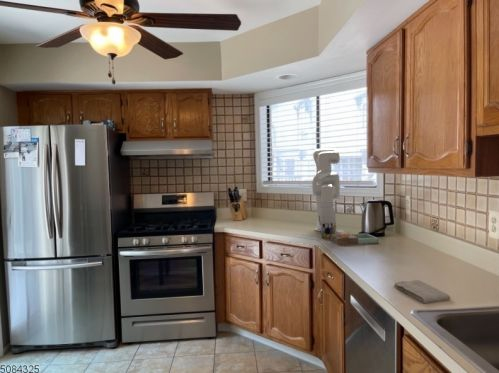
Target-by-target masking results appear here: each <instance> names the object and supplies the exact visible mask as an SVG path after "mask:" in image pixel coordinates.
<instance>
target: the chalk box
mask: <svg viewBox="0 0 499 373" xmlns="http://www.w3.org/2000/svg"><path fill="white" fill-rule="evenodd" d="M335 223H336V224H335V225H332V226H331V228H330V234H335V231H336V230H337V221H336V222H335ZM327 226H328V223H327ZM330 234H328V235H327V234H325V228H324V227H323V226H322V231H321V238H324V239H325V238H326V239H330Z"/></svg>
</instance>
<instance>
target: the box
mask: <svg viewBox="0 0 499 373" xmlns="http://www.w3.org/2000/svg"><path fill="white" fill-rule="evenodd" d="M350 234H351V233H350ZM351 235H353V236H355V237H357V238H358V244H357V245H369V244H371V245H373V244H379V238H378V237H376V236H375V235H371V234H369V233H352V234H351Z"/></svg>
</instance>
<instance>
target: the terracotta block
mask: <svg viewBox="0 0 499 373" xmlns="http://www.w3.org/2000/svg"><path fill="white" fill-rule="evenodd" d="M349 234H350V232H346V231H345V232H339V236H340V237H341V238H349Z"/></svg>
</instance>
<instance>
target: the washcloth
mask: <svg viewBox="0 0 499 373" xmlns="http://www.w3.org/2000/svg"><path fill="white" fill-rule="evenodd" d="M393 287H394V288H395V289H396V290H398V291H399V292H402V293H403V294H405V295H407V296H408V297H410V298H412V299H414V300H415V301H417V302H419V303H421V304H431V302H432V303H436V302H437V301H439V302H438V303H440V302H446V301H450V300H451V296H450V295H449V294H448V293H447V292H444V291H441V290H439V289H438V288H436V287H434V286H432V285H430V284H427V283H426V282H423V281H421V280H419V279H413V280H410V281H404V280H402V281H397V282H395V283H394V285H393Z"/></svg>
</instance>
